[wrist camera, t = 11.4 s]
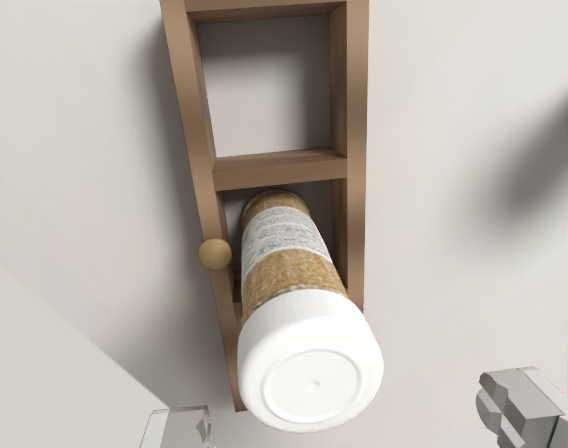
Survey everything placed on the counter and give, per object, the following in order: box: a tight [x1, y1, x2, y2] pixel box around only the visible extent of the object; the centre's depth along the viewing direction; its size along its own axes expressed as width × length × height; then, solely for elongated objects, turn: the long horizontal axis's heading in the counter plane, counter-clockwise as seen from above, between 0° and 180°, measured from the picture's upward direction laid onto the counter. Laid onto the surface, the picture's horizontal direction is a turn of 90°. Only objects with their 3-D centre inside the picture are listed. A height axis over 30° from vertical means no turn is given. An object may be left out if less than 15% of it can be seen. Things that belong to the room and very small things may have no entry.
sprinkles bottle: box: [237, 189, 383, 433], centre depth 16 cm, size 5×5×13 cm
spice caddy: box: [159, 0, 369, 412], centre depth 21 cm, size 25×9×4 cm, turn 4°
